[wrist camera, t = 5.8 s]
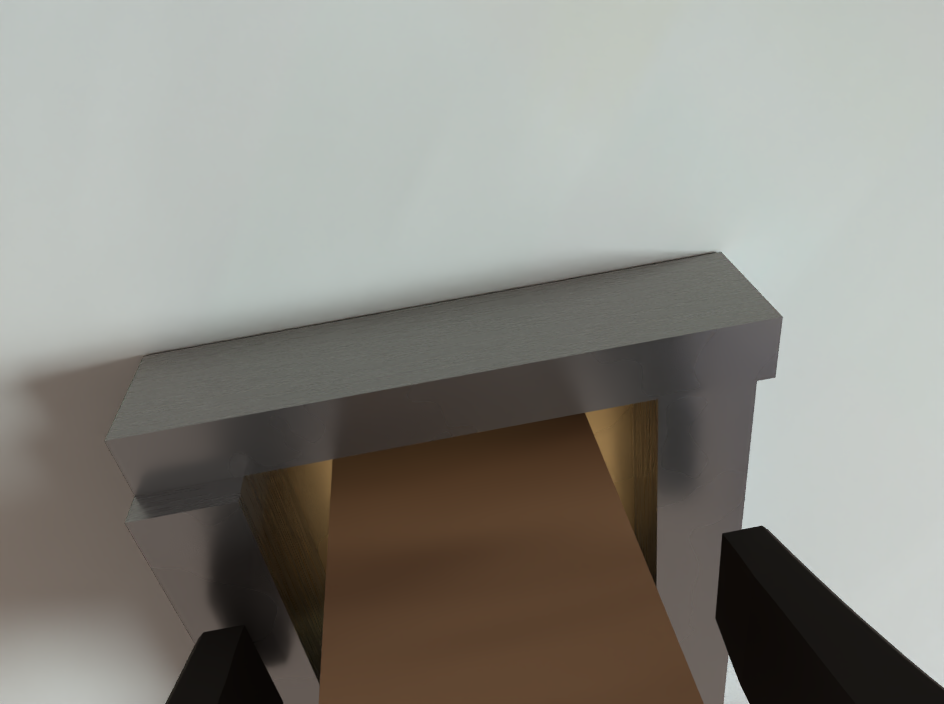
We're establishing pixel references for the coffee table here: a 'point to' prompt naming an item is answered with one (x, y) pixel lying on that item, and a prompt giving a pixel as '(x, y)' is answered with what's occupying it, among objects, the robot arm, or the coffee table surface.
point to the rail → (444, 416)
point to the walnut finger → (492, 578)
